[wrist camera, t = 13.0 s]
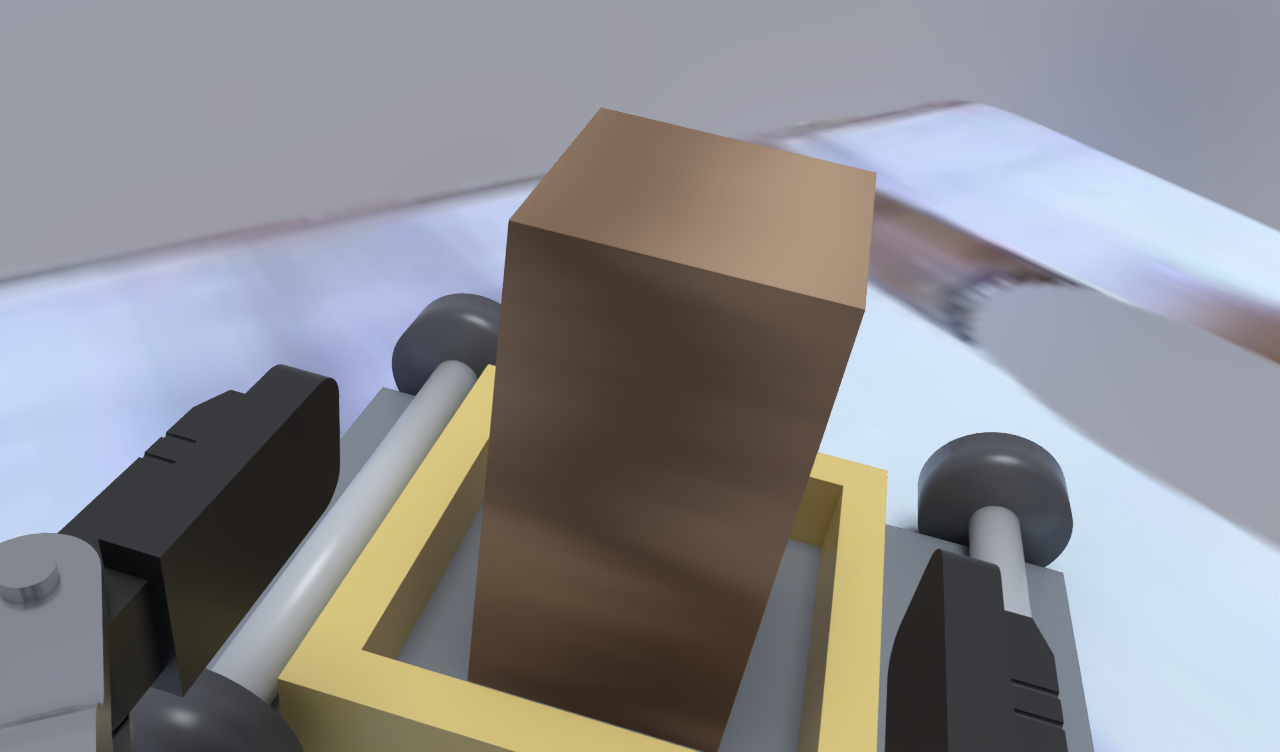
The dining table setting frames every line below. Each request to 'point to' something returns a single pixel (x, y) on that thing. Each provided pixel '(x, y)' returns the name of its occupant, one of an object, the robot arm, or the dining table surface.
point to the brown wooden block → (658, 415)
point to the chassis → (447, 572)
